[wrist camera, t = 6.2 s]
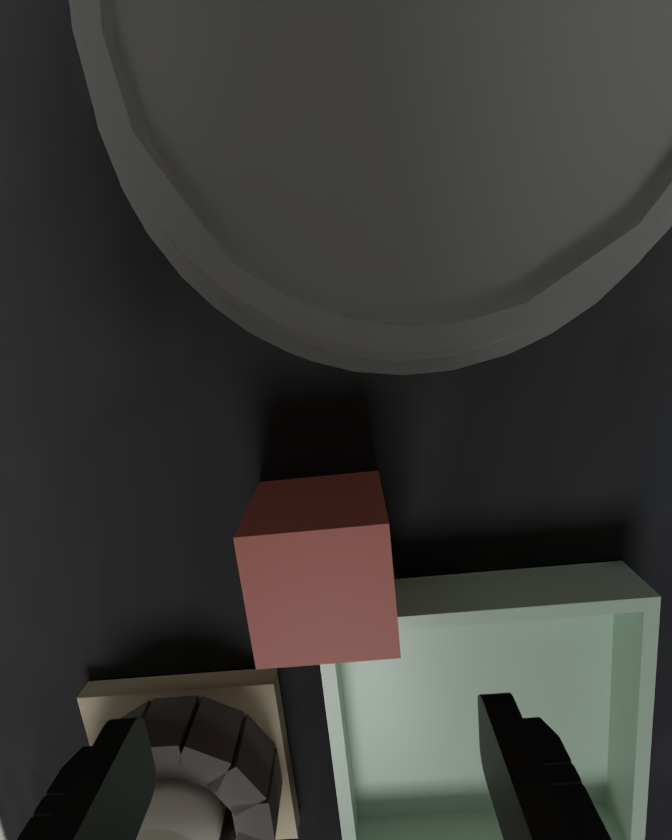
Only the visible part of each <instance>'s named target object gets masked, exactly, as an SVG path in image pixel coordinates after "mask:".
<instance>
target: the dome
mask: <svg viewBox="0 0 672 840" xmlns="http://www.w3.org/2000/svg"><path fill="white" fill-rule="evenodd" d="M226 808H227V806H226V805H225V804H224V803H223V802H222V801H221V800H220V799H219V798H218V797H217V796H216V795H215V794H214V793H213V792H212V791H211V790H210V789H208V788H205V787H202V786H199V785H197V784H194V783H191V782H188V781H185V780H183V779H180V778H168V779H156V781H155V788H154V793H153V797H152V800H151V803H150V805H149V808H148V810H147V813H146V815H145V818H144V820H143V823H142V825H141V828H140V830H139V833H138V835H137V838H136V840H219V838H220V834H221V830H222V825H223V821H224V817H225V812H226Z"/></svg>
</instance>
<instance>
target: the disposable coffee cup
mask: <svg viewBox="0 0 672 840" xmlns="http://www.w3.org/2000/svg"><path fill="white" fill-rule="evenodd" d="M69 5H70V13H71V21H72V30H73V34H74V37H75V41H76V45H77V49H78V52H79V56H80V60H81V64H82V67H83V71H84V75H85V79H86V82H87V86H88V90H89V94H90V97H91V101H92V105H93V108H94V112H95V117H96V121H97V126H98V129H99V132H100V134H101V137H102V139H103V142H104V144H105V147H106V149H107V152H108V154H109V157H110V159H111V162H112V164H113V167H114V169H115V172H116V174H117V177H118V179H119V182H120V184H121V187H122V189H123V191H124V193H125V195H126V197H127V198H128V200H129V202H130V204H131V205H132V207H133V209H134V211H135V212H136V214H137V216H138V218H139V219H140V221H141V223H142V225H143V226H144V228H145V230H146V232H147V233H148V235H149V236H150V237H151V238H152V240H153V241H154V242H155V244H156V245H157V246H158V247H159V249H160V250H161V251H162V253H163V254H164V255H165V256H166V258H167V259H168V260H169V261H170V263H171V264H172V265H173V267H174V268H175V269H176V270H177V272H178V273H179V274H180V276H181V277H182V278H183V279H184V280H186V281H187V282H188V283H189V284H190V285H191V286H192V287H193V288H194V289H195V290H196V291H197V292H198V293H199V294H200V295H202V296H203V297H204V298H205V299H206V300H207V301H208V302H209V303H210V304H211V305H212V306H213V307H215V308H216V309H217V310H219V311H220V312H222V313H223V314H224V315H226V316H227V317H229V318H230V319H231V320H233V321H234V322H235V323H237V324H238V325H240V326H241V327H242V328H244V329H245V330H246V331H248V332H249V333H251V334H253V335H255V336H257V337H259V338H261V339H263V340H265V341H267V342H269V343H271V344H273V345H275V346H277V347H279V348H281V349H283V350H285V351H287V352H289V353H292V354H294V355H297V356H300V357H302V358H305V359H308V360H311V361H313V362H317V363H321V364H325V365H329V366H333V367H337V368H341V369H346V370H350V371H354V372H366V373H381V374H396V375H410V374H421V373H431V372H441V371H451V370H455V369H459V368H462V367H466V366H469V365H473V364H476V363H480V362H483V361H487V360H490V359H493V358H497V357H500V356H504V355H507V354H510V353H512V352H514V351H516V350H518V349H520V348H522V347H525V346H527V345H529V344H531V343H533V342H535V341H537V340H539V339H541V338H543V337H545V336H547V335H549V334H551V333H553V332H554V331H556V330H557V329H559V328H560V327H562V326H563V325H565V324H566V323H568V322H569V321H571V320H572V319H573V318H575V317H576V316H578V315H579V314H581V313H582V312H584V311H585V310H587V309H588V308H590V307H591V306H592V305H594V304H595V303H597V302H598V301H599V300H600V299H601V298H602V297H603V296H604V295H605V294H606V293H607V292H608V291H610V290H611V289H612V288H613V287H614V286H615V285H616V284H617V283H618V282H619V281H620V280H621V279H622V278H623V277H624V276H625V275H626V274H627V273H628V272H629V271H630V270H632V269H633V268H634V267H635V266H636V265H637V264H638V263H639V262H640V261H641V259H642V258H643V257H644V255H645V254H646V253H647V252H648V251H649V250H650V249H651V248H652V247H653V246H654V245H655V244H656V242H657V241H658V240H659V239H660V238H661V237H662V236H663V235H664V234H665V233H666V232H667V231H668V229H669V228H670V227H671V226H672V0H69Z"/></svg>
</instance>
